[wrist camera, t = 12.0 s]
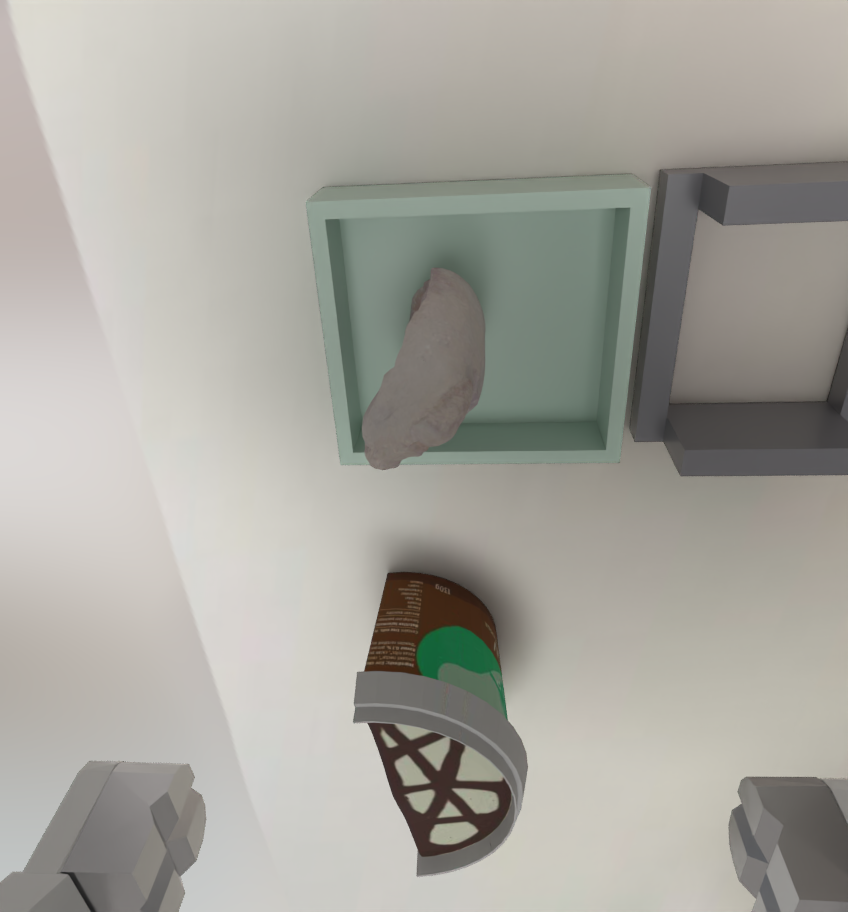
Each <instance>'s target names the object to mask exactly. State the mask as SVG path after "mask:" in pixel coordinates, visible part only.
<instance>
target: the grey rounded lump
mask: <svg viewBox="0 0 848 912" xmlns="http://www.w3.org/2000/svg"><path fill="white" fill-rule="evenodd" d="M484 375H485V319H484V314H483V310H482V307H481V305H480V302H479V300H478V298H477V295H476V294H475V292H474V291H473V289H472V287H471V286H470V285H469V283H467V282H466V281H465V280H464V279H463V278H462V277H461V276H459V275H458V274H456V273H455V272H452V271H450V270H447V269H444V268H432V269H431V275H430V279H429V280H427V281H425V282H424V285H423V287H421V288H420V289H418V290H417V292H416V293H415V294H414V296H413V298H412V303H411V312H410V319H409V323H408V324H407V327H406V329H405V336H404V340H403V344H402V347H401V349H400V351H399V353H398V355H397V358H396V361H395V366H394V367H393V368H392V369H390V370H389V371H388V372H387V373H386V374H385V375H384V377H383V381H382V384H381V387H380V389H379V391H378V392H377V394H376V395H375V397H374V398H373V400H372V401H371V403H370V405H369V406H368V408H367V410H366V412H365V414H364V417H363V423H362V437H363V439H364V441H365V450H364V452H365V456H366V459H367V460H368V462H369V464H370V465H371V466H372V467H374V468H377V469H381V470H386V469H390V468H396V467H398V466H399V464H400V463H401V461H402V460H403V459H406V458H408V457H419V456H422V454H423V452H425V451H427V450H428V448H429V447H434V446H439V445H441V444H444V443H446V442H448V441H449V440H451V439H452V438H453V436H454V435H455V434H456V432H457V430H458V428H459V426H460V424H461V423H462V422H463V420H464V419H465V416H466V414H467V413H468V412H469V411H471V410H472V409H473V408H474V407H475V406H476V405H477V404H478V401H479V398H480V395H481V391H482V388H483V383H484Z"/></svg>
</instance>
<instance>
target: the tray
mask: <svg viewBox="0 0 848 912" xmlns="http://www.w3.org/2000/svg"><path fill="white" fill-rule="evenodd" d="M650 194H651V187H650V186H648V185H647V184H646V183H644V182H643V181H641V180H640V179H639V178H637V177H636V176H635V175H633V174H617V175H594V176H570V177H547V178H524V179H501V180H478V181H455V182H432V183H409V184H386V185H363V186H339V187H323V188H322V189H321V190H319V191H318V192H317V193H316V194H315V195H313V196H312V197H311V198H310V199H309V200H307V201H306V208H307V216H308V223H309V231H310V238H311V246H312V253H313V261H314V269H315V276H316V284H317V291H318V299H319V306H320V314H321V321H322V329H323V336H324V344H325V351H326V359H327V366H328V374H329V382H330V389H331V397H332V404H333V412H334V419H335V427H336V434H337V442H338V449H339V457H340V464H341V465H370V464H369V462H368V460H367V459H366V456H365V452H364V450H365V441H364V439H363V437H362V423H363V417H364V414H365V412H366V410H367V408H368V406H369V405H370V403H371V401H372V400H373V398H374V397H375V395H376V394H377V392H378V391H379V389H380V387H381V384H382V381H383V377H384V375H385V374H386V373H387V372H388V371H389V370H390V369H392V368H393V367H394V366H395V361H396V358H397V355H398V353H399V351H400V349H401V347H402V344H403V340H404V336H405V329H406V327H407V324H408V323H409V319H410V312H411V303H412V298H413V296H414V294H415V293H416V292H417V290H418V289H420V288H421V287H423V285H424V282H425V281H427V280H429V279H430V275H431V269H432V268H444V269H447V270H450V271H452V272H455V273H456V274H458V275H459V276H461V277H462V278H463V279H464V280H465V281H466V282H467V283H469V285H470V286H471V287H472V289H473V291H474V292H475V294H476V295H477V298H478V300H479V302H480V305H481V307H482V310H483V314H484V319H485V375H484V383H483V388H482V391H481V395H480V398H479V401H478V404H477V405H476V406H475V407H474V408H473V409H472V410H471V411H469V412H468V413H467V414H466V416H465V419H464V420H463V422H462V423H461V424H460V426H459V428H458V430H457V432H456V434H455V435H454V436H453V438H452V439H451V440H449V441H448V442H446V443H444V444H441V445H439V446H434V447H429V448H428V450H427V451H425V452H423V454H422V456H419V457H408V458H406V459H403V460H402V461H401V463H400V464H399V465H413V464H532V463H620V455H621V447H622V438H623V429H624V421H625V412H626V403H627V394H628V386H629V377H630V368H631V360H632V351H633V342H634V333H635V325H636V316H637V307H638V298H639V290H640V281H641V272H642V264H643V255H644V246H645V237H646V229H647V220H648V211H649V203H650Z"/></svg>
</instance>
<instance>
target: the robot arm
mask: <svg viewBox="0 0 848 912" xmlns="http://www.w3.org/2000/svg"><path fill="white" fill-rule="evenodd" d="M194 778H195V777H194V774H193V772H192V770H191V767H190V765H189V764H173V763H140V762H124V761H89V762H88V763H87V764H86V765H85V766H84V767H83V768H82V769H81V770H80V771H79V772H78V774H77V776H76V778H75V779H74V781H73V783H72V785H71V786H70V788H69V790H68V792H67V793H66V795H65V797H64V799H63V801H62V802H61V804H60V806H59V808H58V810H57V811H56V813H55V815H54V817H53V819H52V820H51V822H50V824H49V826H48V827H47V829H46V831H45V833H44V834H43V836H42V838H41V840H40V842H39V843H38V845H37V847H36V849H35V851H34V852H33V854H32V856H31V858H30V859H29V861H28V863H27V865H26V867H25V868H24V870H23V872H12V873H11V874H10V875H8V876H7V877H6V878H5V879H4V880H3V881H1V882H0V912H179V909H180V906H181V903H182V900H183V898H184V895H185V890H184V887H183V883H182V880H181V875H182V874H183V873H184V872H185V871H186V870H188V868H189V867H190V866H192V865H193V864H194V862H196V860H197V857H198V854H199V851H200V848H201V845H202V842H203V837H204V830H205V823H206V811H205V803H204V801H203V798H202V795H201V794H199V793H198V792H197V791H195V790H194V789H192V788H191V786H192V783H193V781H194ZM738 794H739V797H740V799H741V802H742V804H741V805H739V806H738V807H736V808H735V809H733V810H732V812H731V817H730V821H729V845H730V849H731V854H732V859H733V863H734V866H735V870H736V873H737V876H738V879H739V881H740V882H741V883H742V885H743V886H744V887H745V888H746V889H747V890H748V891H749V892H750V893H751V894H752V895H753V896H754V897H755V898H756V901H755V904H754V907H753V910H752V912H848V779H846V778H817V777H745V778H744V779H742V780H741V782H740V786H739V789H738Z"/></svg>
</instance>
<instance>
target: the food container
mask: <svg viewBox="0 0 848 912" xmlns="http://www.w3.org/2000/svg"><path fill="white" fill-rule="evenodd" d="M354 706H355V713H354V719H353V723H368V725H369V727H370V729H371V731H372V734H373V737H374V739H375V742H376V745H377V747H378V750H379V753H380V756H381V759H382V762H383V765H384V768H385V772H386V775H387V779H388V782H389V785H390V788H391V791H392V795H393V797H394V799H395V801H396V803H397V805H398V806H399V808H400V810H401V812H402V813H403V815H404V817H405V819H406V821H407V823H408V826H409V828H410V831H411V833H412V836H413V838H414V841H415V843H416V846H417V849H418V856H417V877H422V876H433V875H438V874H443V873H448V872H452V871H456V870H459V869H462V868H465V867H468V866H470V865H472V864H475V863H477V862H479V861H481V860H483V859H484V858H486V857H487V856H489V855H491V854H492V853H493V852H495V851H496V850H497V849H498V848H499V847H500V846H501V845H502V844H503V843H504V842H505V840H506V839H507V838H508V836H509V835H510V834H511V831H512V829H513V827H514V824H515V821H516V819H517V817H518V815H519V813H520V810H521V806H522V800H523V794H524V788H525V782H526V776H527V769H528V764H527V755H526V751H525V748H524V745H523V743H522V740H521V738H520V737H519V735H518V734H517V732H516V730H515V729H514V727H513V726H512V725H511V724H510V723H509V722H508V719H507V711H506V703H505V696H504V688H503V680H502V673H501V665H500V657H499V650H498V642H497V634H496V627H495V624H494V621H493V618H492V616H491V614H490V612H489V611H488V609H487V607H486V606H485V605H484V604H483V603H482V602H481V601H480V600H479V599H478V598H477V597H476V596H475V595H474V594H472V593H471V592H470V591H468V590H467V589H465V588H463V587H462V586H460V585H458V584H456V583H454V582H452V581H449V580H447V579H444V578H441V577H437V576H434V575H429V574H423V573H415V572H396V573H388V574H387V578H386V582H385V587H384V591H383V595H382V599H381V603H380V607H379V612H378V616H377V620H376V624H375V628H374V633H373V637H372V641H371V645H370V649H369V653H368V658H367V662H366V666H365V670H364V672H357V679H356V689H355V698H354Z"/></svg>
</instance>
